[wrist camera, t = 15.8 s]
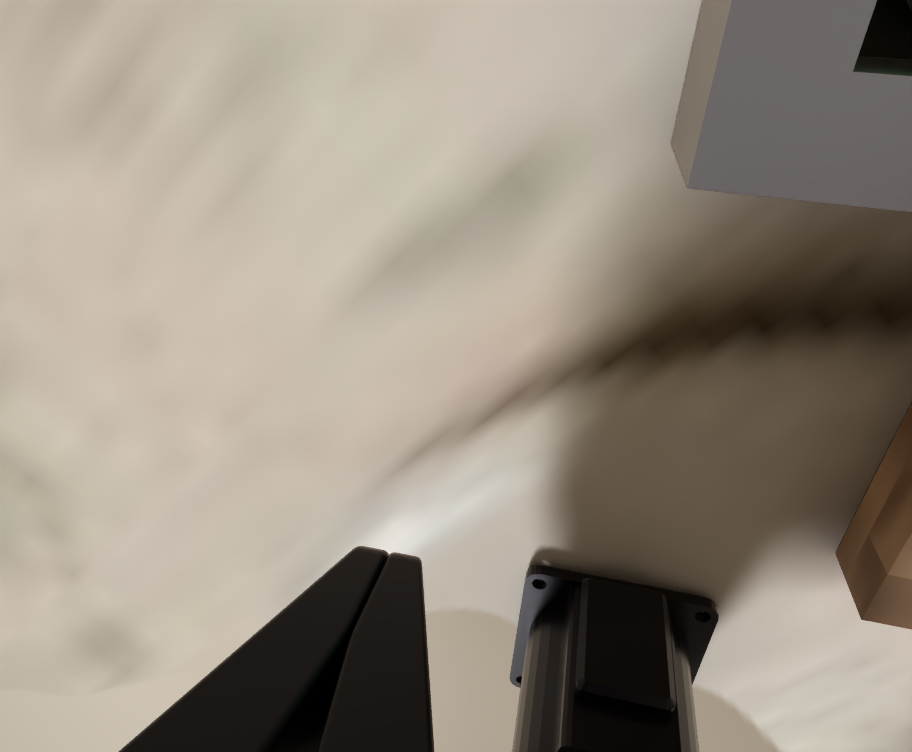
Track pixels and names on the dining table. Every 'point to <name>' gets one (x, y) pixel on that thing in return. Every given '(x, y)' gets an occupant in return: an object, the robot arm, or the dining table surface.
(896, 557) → the brown wooden pocket tray
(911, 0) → the button
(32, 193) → the dining table surface
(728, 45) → the button housing
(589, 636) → the robot arm
